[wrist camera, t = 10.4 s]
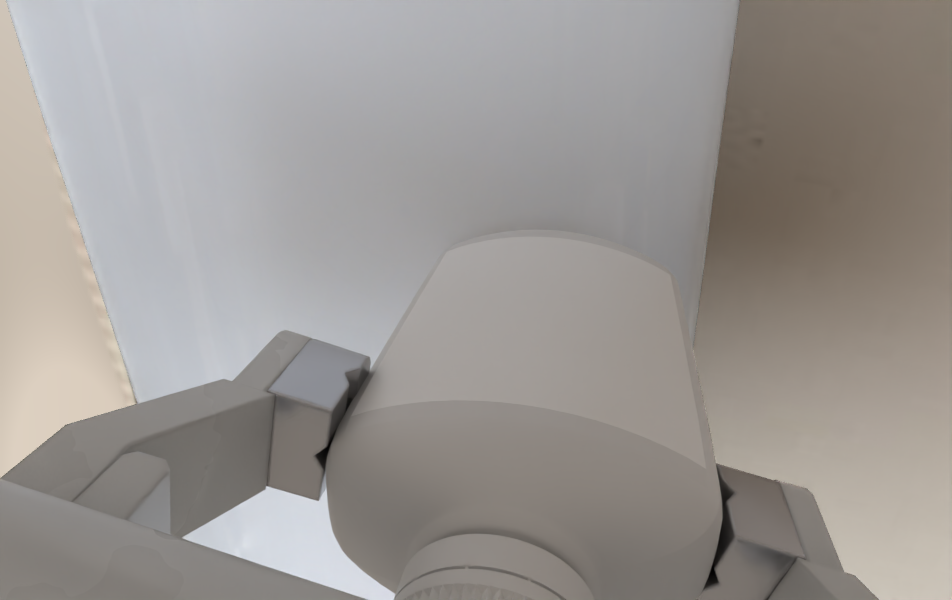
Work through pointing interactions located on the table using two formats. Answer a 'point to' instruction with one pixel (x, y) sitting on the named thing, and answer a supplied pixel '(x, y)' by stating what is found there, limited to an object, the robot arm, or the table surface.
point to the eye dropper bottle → (532, 432)
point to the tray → (358, 172)
